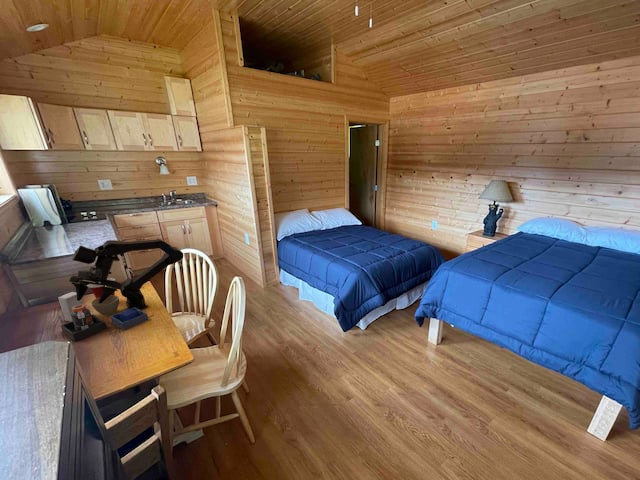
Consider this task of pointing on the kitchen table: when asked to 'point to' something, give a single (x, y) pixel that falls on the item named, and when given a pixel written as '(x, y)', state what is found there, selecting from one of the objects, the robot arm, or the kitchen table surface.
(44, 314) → the kitchen table surface
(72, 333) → the charcoal bin
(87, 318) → the pill bottle
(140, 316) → the blue bin
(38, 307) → the kitchen table surface
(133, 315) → the blue block
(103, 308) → the gray bowl
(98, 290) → the plastic cup
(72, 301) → the cosmetic box
